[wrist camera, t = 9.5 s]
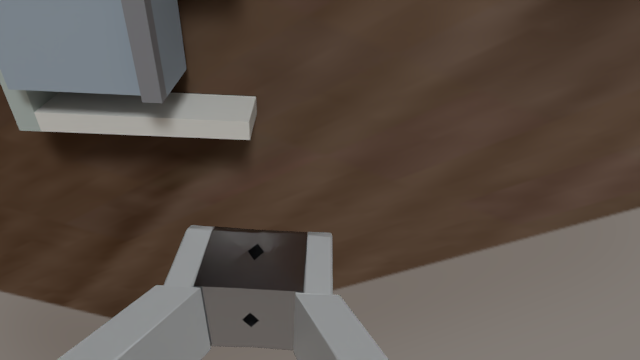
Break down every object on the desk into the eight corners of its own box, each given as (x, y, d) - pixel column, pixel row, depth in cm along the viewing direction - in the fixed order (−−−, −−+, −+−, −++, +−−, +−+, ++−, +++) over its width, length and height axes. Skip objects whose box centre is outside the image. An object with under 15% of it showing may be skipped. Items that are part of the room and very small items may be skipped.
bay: (248, -94, 21) (238, -91, 18) (256, 113, 27) (249, 139, 24) (-24, -112, 20) (-80, -111, 17) (51, 104, 27) (19, 130, 24)
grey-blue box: (178, -26, 22) (143, -3, 18) (189, 64, 25) (162, 103, 21) (27, -34, 22) (-48, -14, 18) (56, 57, 25) (-2, 95, 20)
